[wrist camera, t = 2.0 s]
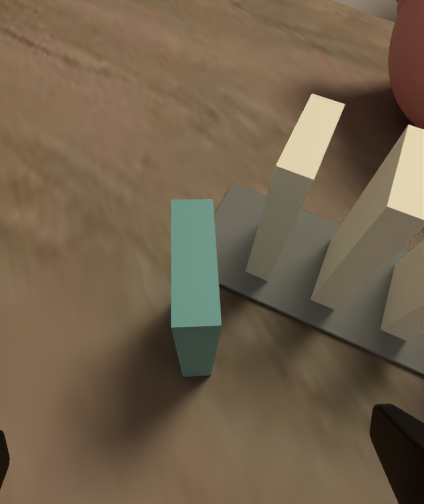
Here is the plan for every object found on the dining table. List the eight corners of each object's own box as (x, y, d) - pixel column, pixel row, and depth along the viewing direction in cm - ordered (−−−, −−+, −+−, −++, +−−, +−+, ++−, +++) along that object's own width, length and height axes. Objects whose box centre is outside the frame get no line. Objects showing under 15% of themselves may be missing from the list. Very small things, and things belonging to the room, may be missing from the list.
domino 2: (353, 247, 24) (445, 136, 15) (334, 309, 21) (429, 221, 13) (331, 238, 24) (408, 124, 15) (310, 299, 22) (386, 206, 13)
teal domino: (206, 294, 22) (212, 199, 13) (210, 375, 20) (221, 325, 11) (181, 294, 22) (171, 199, 13) (182, 376, 20) (171, 327, 11)
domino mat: (638, 470, 18) (644, 471, 18) (185, 269, 23) (184, 267, 22) (620, 335, 22) (626, 334, 21) (232, 185, 26) (232, 182, 26)
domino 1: (291, 223, 24) (345, 104, 16) (267, 281, 22) (313, 179, 13) (271, 215, 25) (311, 93, 16) (245, 271, 23) (276, 165, 14)
